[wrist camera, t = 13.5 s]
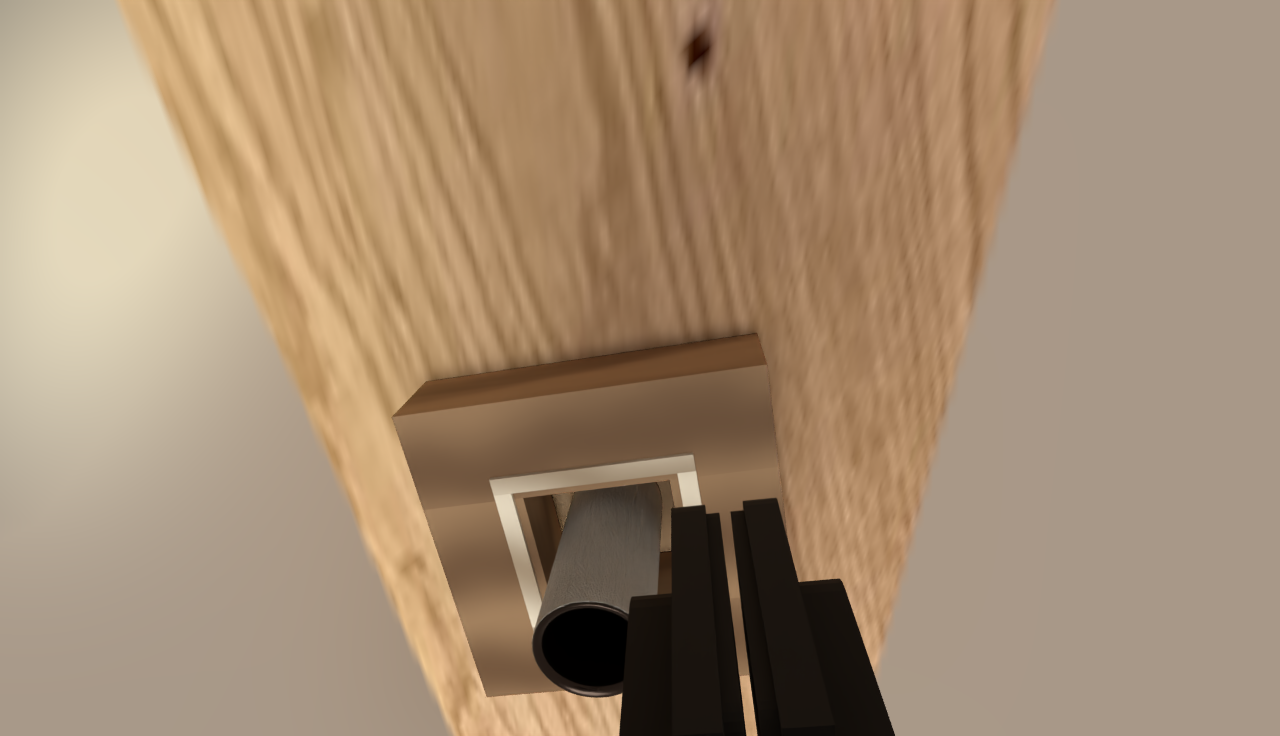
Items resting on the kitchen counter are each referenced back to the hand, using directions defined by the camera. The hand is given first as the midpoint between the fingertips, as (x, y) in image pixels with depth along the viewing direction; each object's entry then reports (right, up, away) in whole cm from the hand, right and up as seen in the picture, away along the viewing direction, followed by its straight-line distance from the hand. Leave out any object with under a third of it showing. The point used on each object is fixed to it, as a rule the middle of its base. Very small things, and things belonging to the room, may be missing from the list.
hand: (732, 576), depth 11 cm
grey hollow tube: (-3, -3, +23) cm, 24 cm away
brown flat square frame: (-3, -4, +23) cm, 24 cm away
